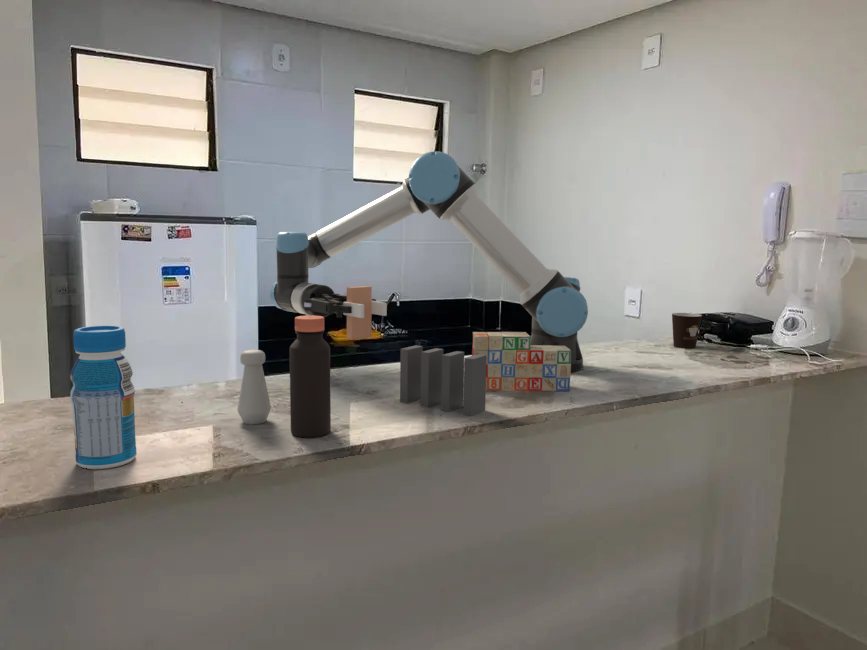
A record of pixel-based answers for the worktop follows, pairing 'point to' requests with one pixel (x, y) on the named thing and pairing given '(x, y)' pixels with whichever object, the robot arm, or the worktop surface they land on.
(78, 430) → the beverage bottle
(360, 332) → the orange domino
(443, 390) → the domino
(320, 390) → the vinegar
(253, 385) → the salt shaker
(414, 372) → the domino
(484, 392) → the domino
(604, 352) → the worktop surface
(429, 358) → the domino
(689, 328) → the coffee mug
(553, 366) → the stack of blocks
